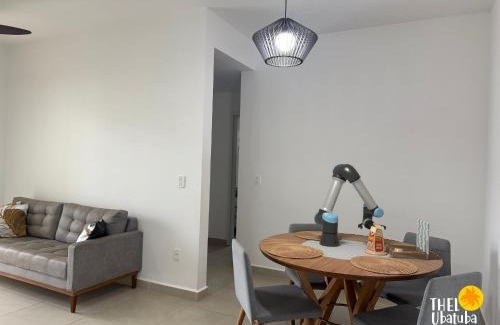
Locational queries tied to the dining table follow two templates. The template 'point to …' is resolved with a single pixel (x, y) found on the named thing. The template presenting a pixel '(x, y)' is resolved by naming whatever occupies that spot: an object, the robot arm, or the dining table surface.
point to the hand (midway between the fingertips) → (373, 228)
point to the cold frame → (420, 247)
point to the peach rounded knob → (397, 250)
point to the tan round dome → (375, 253)
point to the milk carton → (375, 239)
